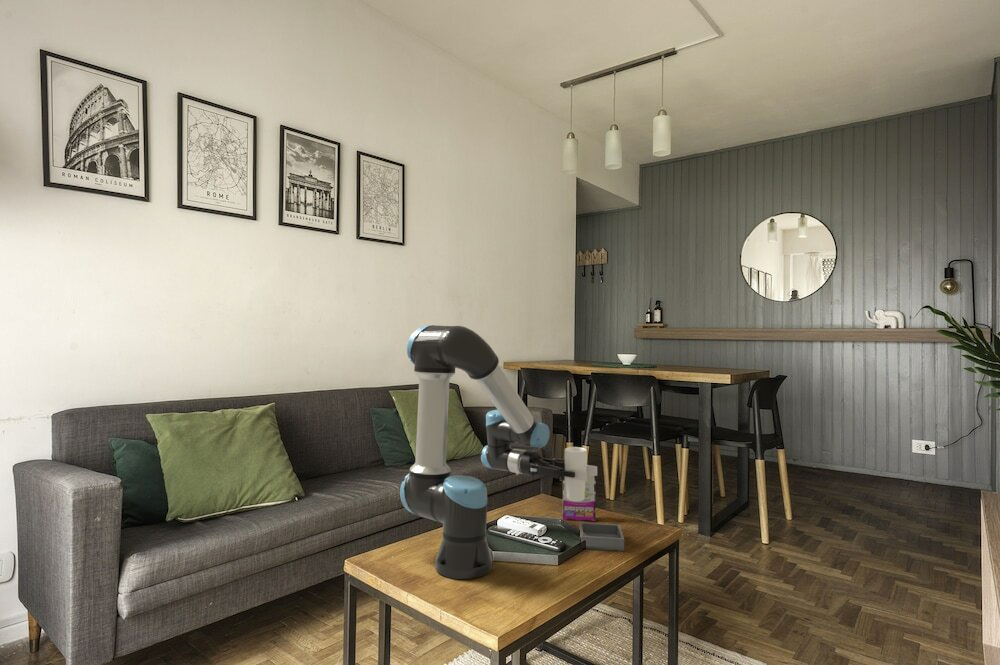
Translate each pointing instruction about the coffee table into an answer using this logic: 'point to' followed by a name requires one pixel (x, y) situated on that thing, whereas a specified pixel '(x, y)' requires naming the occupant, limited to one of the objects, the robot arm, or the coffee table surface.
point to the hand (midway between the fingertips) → (591, 473)
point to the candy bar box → (581, 502)
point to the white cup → (577, 460)
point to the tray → (602, 536)
